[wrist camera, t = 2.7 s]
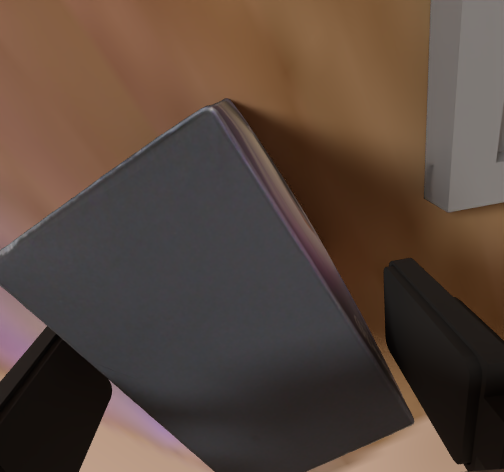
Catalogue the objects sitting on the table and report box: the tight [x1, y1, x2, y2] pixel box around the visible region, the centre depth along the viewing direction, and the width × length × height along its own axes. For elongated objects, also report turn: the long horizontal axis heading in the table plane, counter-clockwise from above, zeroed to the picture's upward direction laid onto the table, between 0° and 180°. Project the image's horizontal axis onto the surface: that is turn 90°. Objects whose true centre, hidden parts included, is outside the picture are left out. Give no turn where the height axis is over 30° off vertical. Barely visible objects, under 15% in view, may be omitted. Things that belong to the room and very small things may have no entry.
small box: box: [0, 98, 414, 472], centre depth 13 cm, size 11×6×10 cm, turn 33°
